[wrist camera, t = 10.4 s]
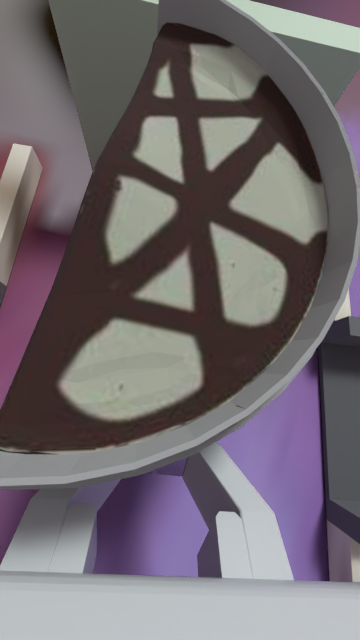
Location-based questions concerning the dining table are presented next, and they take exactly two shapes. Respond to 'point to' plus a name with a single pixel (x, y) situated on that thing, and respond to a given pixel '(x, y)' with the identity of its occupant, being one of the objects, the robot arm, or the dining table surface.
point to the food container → (189, 260)
